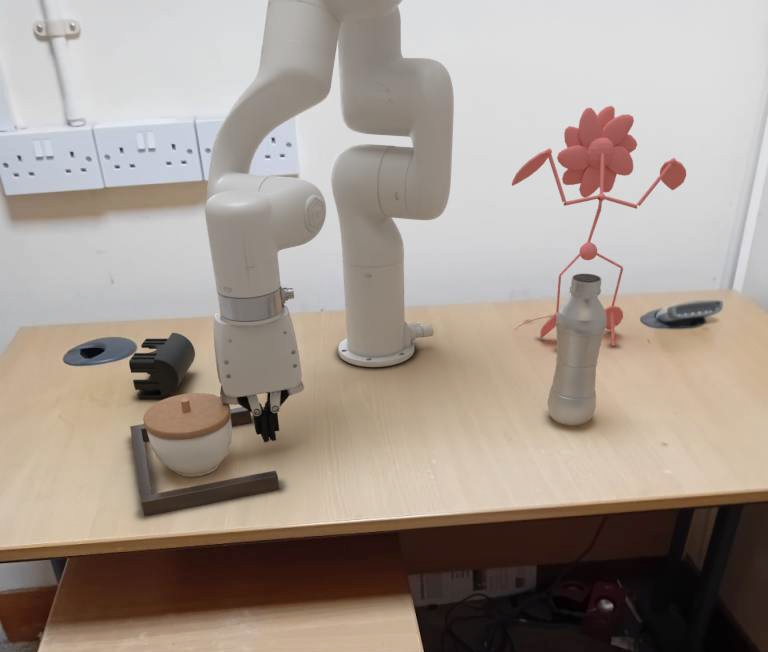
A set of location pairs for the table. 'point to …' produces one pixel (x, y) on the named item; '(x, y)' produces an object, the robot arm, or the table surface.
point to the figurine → (598, 179)
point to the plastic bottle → (577, 352)
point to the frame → (201, 492)
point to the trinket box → (190, 432)
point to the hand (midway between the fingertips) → (268, 436)
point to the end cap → (162, 366)
